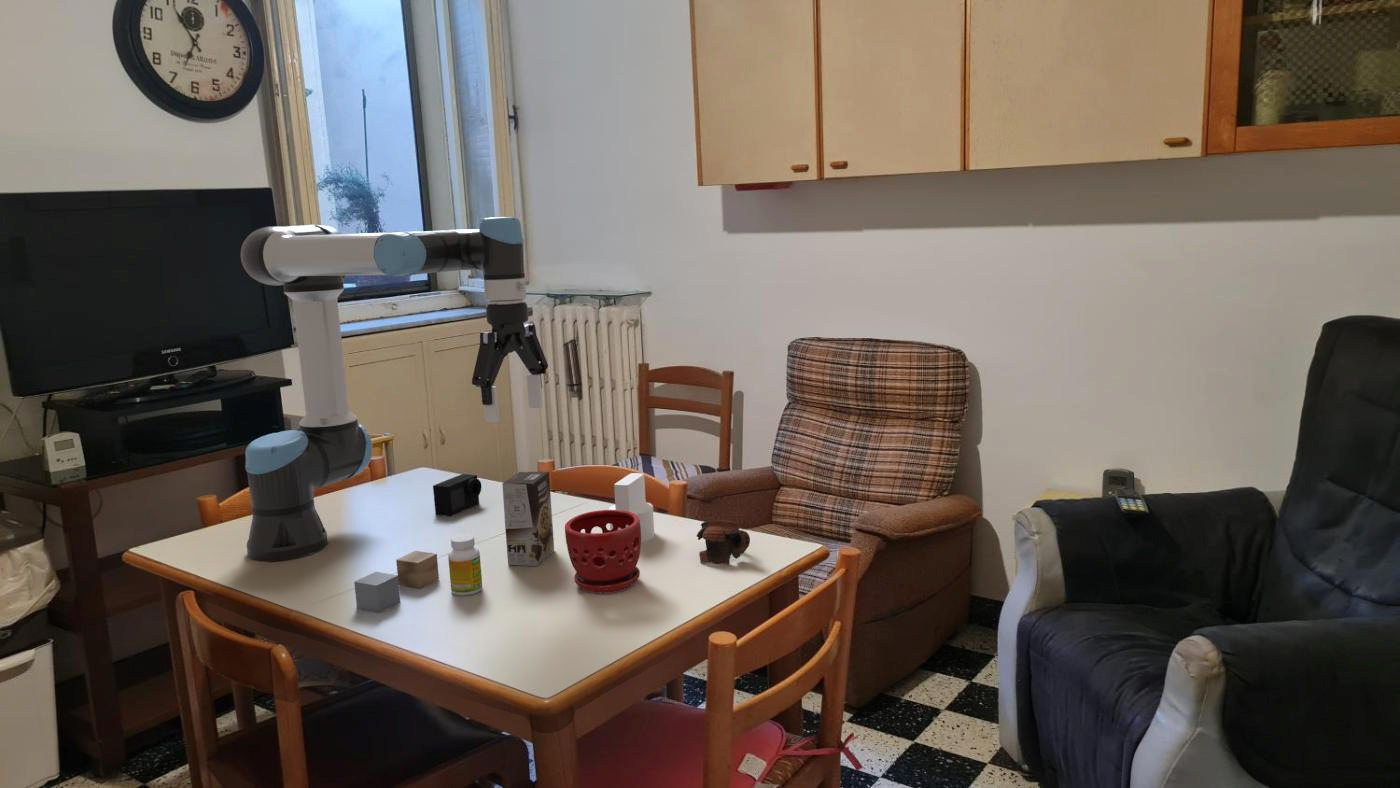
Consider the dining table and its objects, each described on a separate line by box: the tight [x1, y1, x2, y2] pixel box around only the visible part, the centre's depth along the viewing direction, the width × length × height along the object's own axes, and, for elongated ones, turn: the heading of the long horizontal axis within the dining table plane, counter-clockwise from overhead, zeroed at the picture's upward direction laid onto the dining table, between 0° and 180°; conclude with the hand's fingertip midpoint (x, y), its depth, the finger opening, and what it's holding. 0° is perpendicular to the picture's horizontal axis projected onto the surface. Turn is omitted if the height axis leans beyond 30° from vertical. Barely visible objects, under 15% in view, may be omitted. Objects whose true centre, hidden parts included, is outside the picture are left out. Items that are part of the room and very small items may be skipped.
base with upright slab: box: [608, 472, 655, 543], centre depth 195 cm, size 9×9×12 cm
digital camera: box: [432, 473, 482, 517], centre depth 218 cm, size 10×5×7 cm, turn 155°
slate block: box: [353, 571, 401, 614], centre depth 164 cm, size 5×5×5 cm
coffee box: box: [502, 471, 555, 567], centre depth 184 cm, size 9×6×16 cm
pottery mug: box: [695, 519, 751, 565], centre depth 181 cm, size 12×10×8 cm
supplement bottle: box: [447, 534, 483, 597], centre depth 169 cm, size 5×5×10 cm
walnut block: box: [395, 550, 440, 590], centre depth 174 cm, size 5×5×5 cm
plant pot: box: [564, 509, 642, 594], centre depth 169 cm, size 13×13×12 cm
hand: (514, 414), depth 181 cm, fingers open, 13 cm apart
